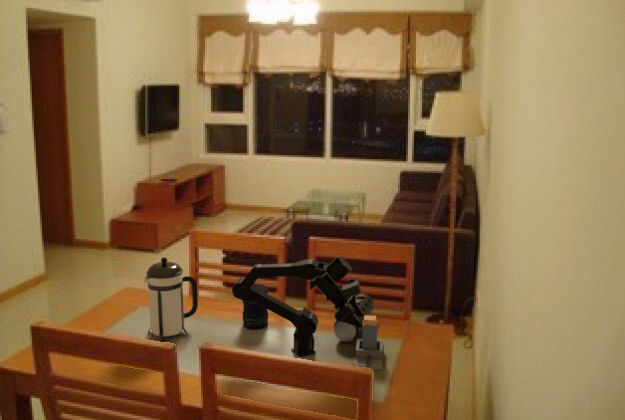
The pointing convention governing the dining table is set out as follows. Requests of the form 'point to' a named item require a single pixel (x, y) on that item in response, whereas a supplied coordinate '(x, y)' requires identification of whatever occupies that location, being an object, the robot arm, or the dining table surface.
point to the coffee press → (168, 298)
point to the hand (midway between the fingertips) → (362, 321)
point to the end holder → (369, 356)
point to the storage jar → (255, 313)
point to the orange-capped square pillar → (369, 333)
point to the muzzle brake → (351, 332)
